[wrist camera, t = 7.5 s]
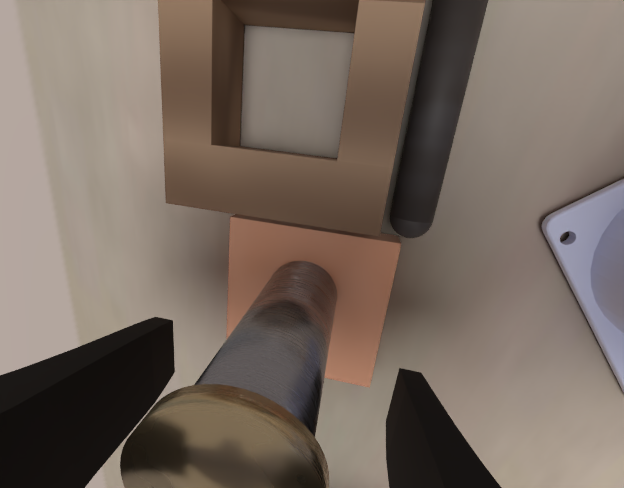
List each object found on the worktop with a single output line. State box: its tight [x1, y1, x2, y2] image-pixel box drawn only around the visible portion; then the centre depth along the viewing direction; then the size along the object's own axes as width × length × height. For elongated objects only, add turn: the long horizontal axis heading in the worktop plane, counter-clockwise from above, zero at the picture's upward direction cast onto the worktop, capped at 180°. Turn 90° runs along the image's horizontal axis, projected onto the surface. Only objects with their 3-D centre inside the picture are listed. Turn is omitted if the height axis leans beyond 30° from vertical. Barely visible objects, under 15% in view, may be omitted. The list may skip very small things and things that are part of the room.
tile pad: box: [226, 214, 401, 388], centre depth 14 cm, size 7×7×1 cm
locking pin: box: [120, 261, 337, 488], centre depth 9 cm, size 4×4×8 cm
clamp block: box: [158, 0, 488, 238], centre depth 10 cm, size 10×10×2 cm
